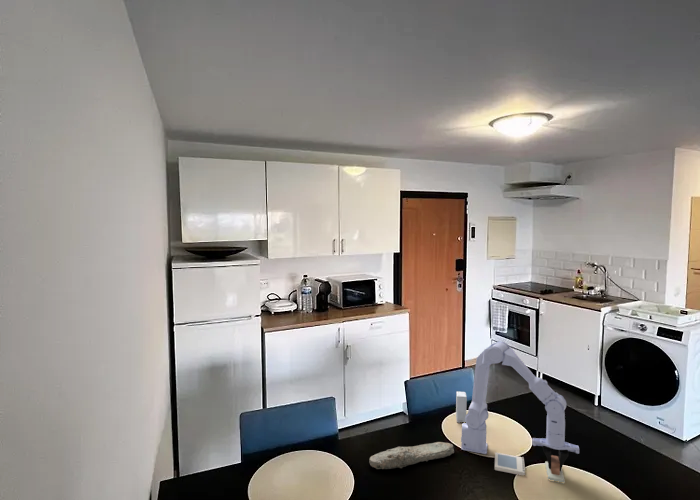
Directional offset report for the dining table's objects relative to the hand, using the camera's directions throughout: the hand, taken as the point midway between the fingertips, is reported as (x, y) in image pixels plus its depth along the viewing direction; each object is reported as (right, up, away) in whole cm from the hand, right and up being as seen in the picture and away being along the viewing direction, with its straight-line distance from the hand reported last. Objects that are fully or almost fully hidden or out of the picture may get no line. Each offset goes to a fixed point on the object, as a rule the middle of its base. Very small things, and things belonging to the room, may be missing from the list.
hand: (554, 468), depth 139 cm
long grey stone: (-49, -2, +10) cm, 50 cm away
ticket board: (-14, -2, +5) cm, 15 cm away
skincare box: (-22, -1, +41) cm, 46 cm away
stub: (0, -2, 0) cm, 2 cm away
